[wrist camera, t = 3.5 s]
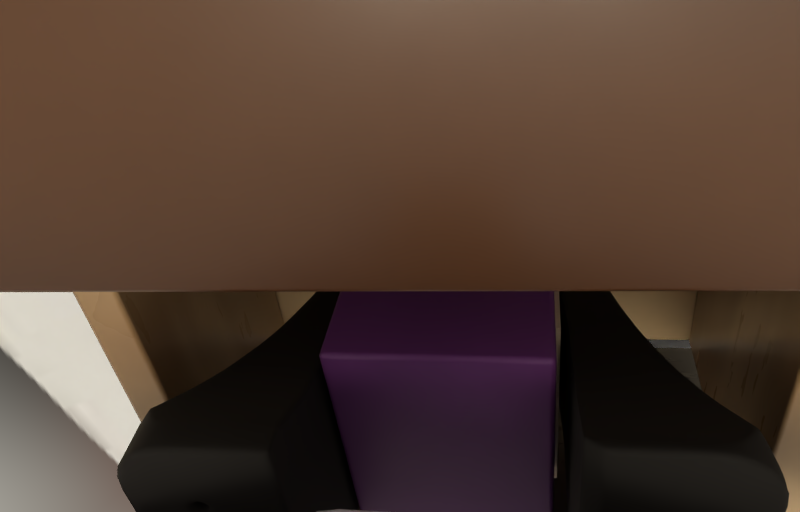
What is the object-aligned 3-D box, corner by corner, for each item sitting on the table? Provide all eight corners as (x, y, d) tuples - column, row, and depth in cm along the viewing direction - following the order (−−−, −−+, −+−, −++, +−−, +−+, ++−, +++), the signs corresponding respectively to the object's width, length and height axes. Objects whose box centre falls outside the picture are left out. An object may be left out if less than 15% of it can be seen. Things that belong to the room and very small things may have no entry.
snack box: (551, 327, 18) (558, 549, 13) (407, 325, 18) (364, 535, 14) (553, 153, 15) (564, 361, 10) (382, 159, 15) (316, 355, 11)
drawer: (702, 479, 22) (758, 720, 17) (300, 461, 25) (239, 667, 19) (844, -124, 12) (1100, 8, 7) (130, -53, 14) (-101, 86, 9)
